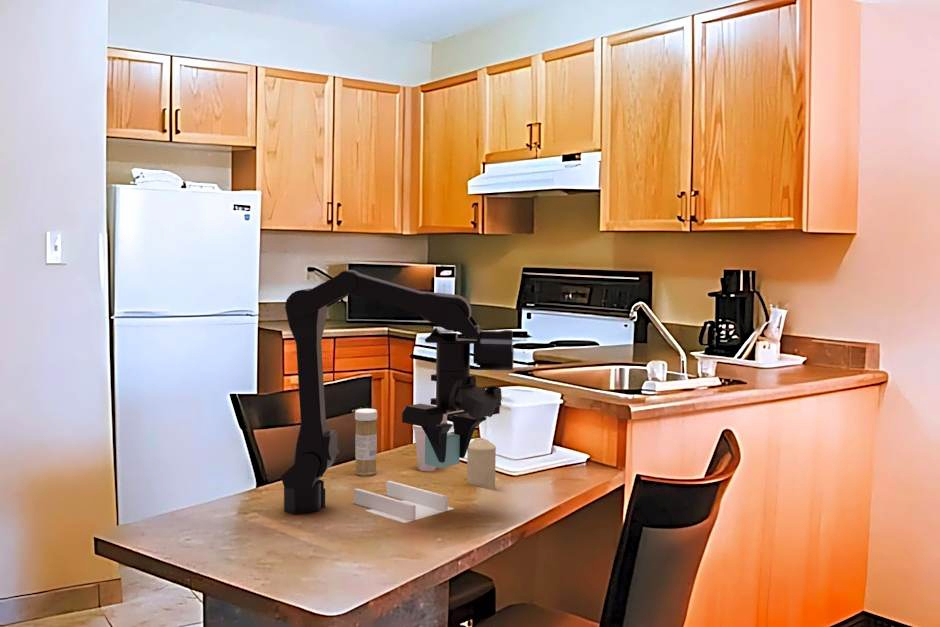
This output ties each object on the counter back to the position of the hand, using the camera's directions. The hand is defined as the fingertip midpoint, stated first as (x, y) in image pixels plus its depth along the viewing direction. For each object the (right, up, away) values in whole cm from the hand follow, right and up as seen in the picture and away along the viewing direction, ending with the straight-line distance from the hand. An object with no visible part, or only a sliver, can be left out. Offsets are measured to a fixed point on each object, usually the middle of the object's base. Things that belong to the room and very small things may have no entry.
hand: (451, 459), depth 156 cm
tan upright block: (+5, -10, +23) cm, 25 cm away
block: (-3, +2, +3) cm, 4 cm away
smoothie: (-6, -8, +39) cm, 40 cm away
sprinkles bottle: (-19, -9, +34) cm, 40 cm away
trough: (-9, -11, +5) cm, 15 cm away
